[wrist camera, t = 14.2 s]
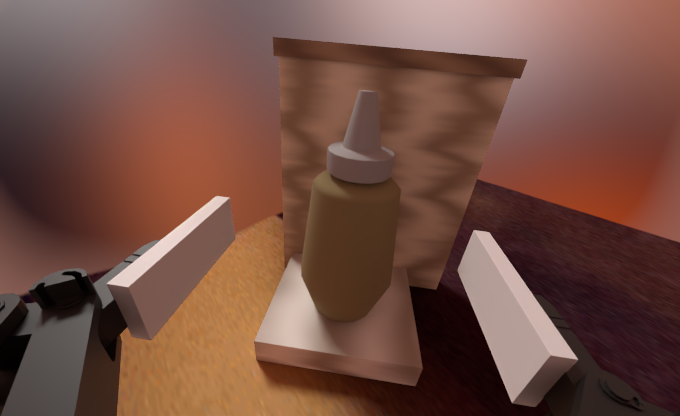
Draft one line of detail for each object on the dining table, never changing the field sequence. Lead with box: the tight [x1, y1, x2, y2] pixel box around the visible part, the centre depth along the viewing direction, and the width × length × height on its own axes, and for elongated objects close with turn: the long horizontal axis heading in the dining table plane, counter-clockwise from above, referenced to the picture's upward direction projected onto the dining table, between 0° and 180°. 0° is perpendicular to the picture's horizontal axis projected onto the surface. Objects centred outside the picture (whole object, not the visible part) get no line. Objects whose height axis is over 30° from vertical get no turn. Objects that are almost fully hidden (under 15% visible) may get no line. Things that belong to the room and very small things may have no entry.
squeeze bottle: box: [301, 90, 401, 322], centre depth 20 cm, size 8×8×18 cm
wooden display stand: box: [254, 37, 527, 386], centre depth 21 cm, size 19×13×23 cm
